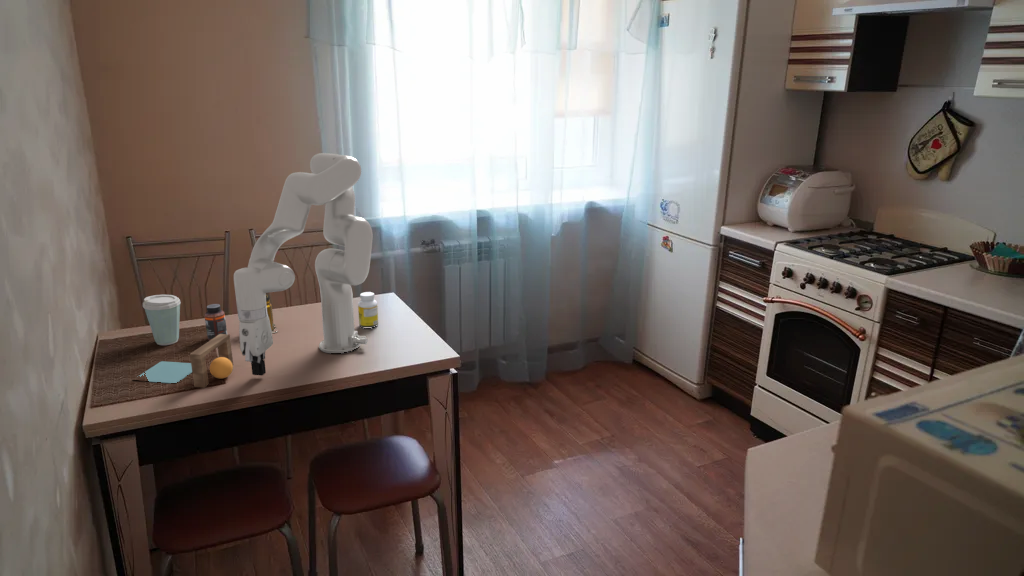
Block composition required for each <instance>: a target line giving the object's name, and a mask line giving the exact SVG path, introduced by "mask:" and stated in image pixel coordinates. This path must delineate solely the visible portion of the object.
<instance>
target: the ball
mask: <svg viewBox="0 0 1024 576" xmlns="http://www.w3.org/2000/svg"><path fill="white" fill-rule="evenodd" d="M233 369H234V363H233V364H232V362H231V361H230V360H229V359H227V358H225V357H219V356H218V357H216V358H214V359H213V360H212V361H211V362H210V364H209V372H210V374H211V376H212V377H214V378H216V379H219V380H220V379H221V380H222V379H226V378H228V377H229V376H230V375H231V374H232V372H233Z"/></svg>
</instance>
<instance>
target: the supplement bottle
mask: <svg viewBox="0 0 1024 576" xmlns="http://www.w3.org/2000/svg"><path fill="white" fill-rule="evenodd" d="M226 321H227V320H226V314H225V311H224V310H222V309H221V305H220V304H219V303H212V304H209V305H208V304H207V306H206V312H205V314H204V322H205V328H206V336H207V340H208V342H209V341H210V340H212V339H213V338H214V337H216V336H217V335H219V334H228V329H227V322H226Z"/></svg>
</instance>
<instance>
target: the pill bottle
mask: <svg viewBox="0 0 1024 576" xmlns="http://www.w3.org/2000/svg"><path fill="white" fill-rule="evenodd" d="M359 299H360V300H359V301H358V303H357V308H358V309H357V310H358V324H359V327H360V326H361V327H374V326H376V325H378V326H379V312H378V311H379V310H378V309H379V308H378V307H379V306H378V302H377V300H376V299H375V293H374V292H371V291H365V292H361V293H360V294H359ZM361 327H360V328H361Z"/></svg>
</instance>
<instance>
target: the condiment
mask: <svg viewBox="0 0 1024 576" xmlns="http://www.w3.org/2000/svg"><path fill="white" fill-rule="evenodd" d="M265 295H266V305H267V314H268V317H269V320H270V325H271V331H272V334H273V333H278V330H277V331H276V332H273V331H274V329H275V328H276V329H277V326H276V323H274V315H273V314H274V313H273V306H272V305H273V304H272V303H271V300H270V299H271V297H270V295H268V294H265ZM274 326H276V327H274Z"/></svg>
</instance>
